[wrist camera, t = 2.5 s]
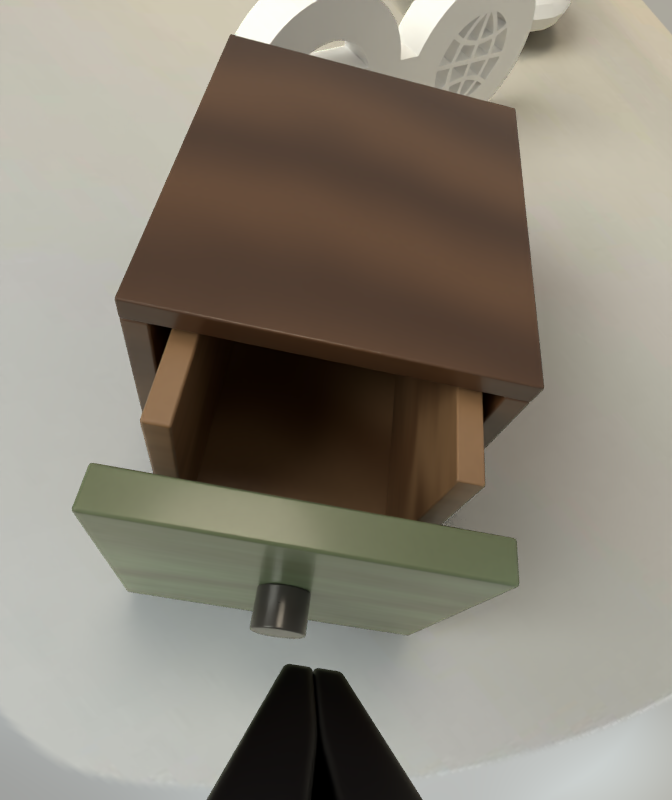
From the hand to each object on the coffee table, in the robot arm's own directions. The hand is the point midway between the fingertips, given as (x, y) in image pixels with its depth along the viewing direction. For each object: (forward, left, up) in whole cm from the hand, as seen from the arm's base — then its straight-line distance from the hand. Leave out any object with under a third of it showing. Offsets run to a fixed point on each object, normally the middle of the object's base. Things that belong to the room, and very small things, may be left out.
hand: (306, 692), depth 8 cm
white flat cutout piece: (+32, +10, -13) cm, 36 cm away
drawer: (+8, +3, -12) cm, 15 cm away
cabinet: (+14, +5, -13) cm, 20 cm away
